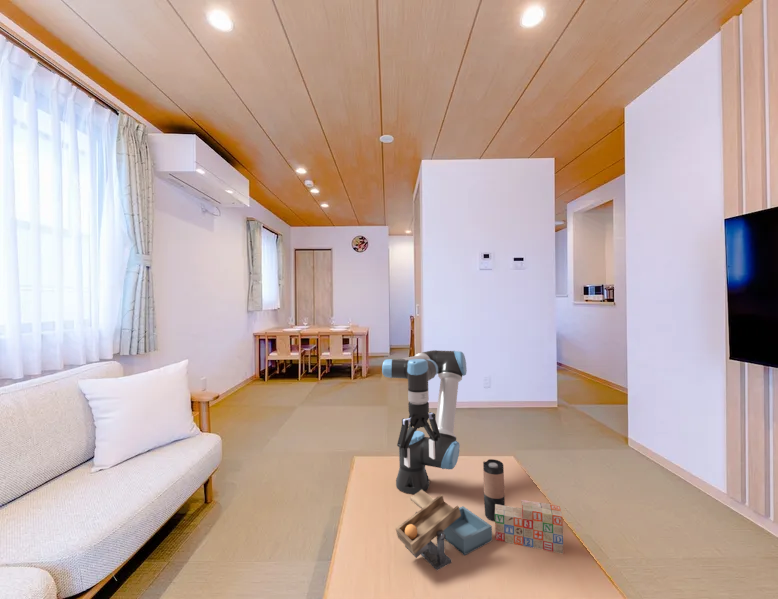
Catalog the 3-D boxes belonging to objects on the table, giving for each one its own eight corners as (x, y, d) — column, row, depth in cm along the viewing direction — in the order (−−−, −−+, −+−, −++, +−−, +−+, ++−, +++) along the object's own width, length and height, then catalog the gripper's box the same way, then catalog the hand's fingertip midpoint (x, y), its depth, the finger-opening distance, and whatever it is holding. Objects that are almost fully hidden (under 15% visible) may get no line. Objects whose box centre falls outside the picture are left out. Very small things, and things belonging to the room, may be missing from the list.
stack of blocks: (495, 540, 118) (494, 504, 118) (495, 529, 124) (494, 495, 124) (564, 554, 111) (562, 516, 111) (561, 541, 116) (560, 505, 117)
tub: (464, 555, 111) (463, 540, 111) (436, 531, 123) (436, 517, 123) (492, 540, 118) (491, 525, 118) (463, 519, 129) (463, 506, 130)
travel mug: (506, 523, 127) (504, 468, 127) (485, 521, 128) (483, 467, 129) (503, 511, 134) (502, 459, 135) (483, 509, 136) (482, 458, 136)
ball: (403, 537, 109) (401, 525, 109) (413, 531, 111) (411, 519, 111) (410, 544, 106) (408, 532, 106) (420, 538, 108) (419, 526, 108)
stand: (436, 570, 105) (435, 537, 105) (410, 544, 117) (409, 514, 117) (451, 562, 108) (450, 530, 108) (424, 537, 120) (423, 508, 120)
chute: (416, 563, 104) (411, 544, 103) (383, 528, 121) (379, 512, 120) (462, 523, 114) (458, 506, 113) (426, 496, 131) (423, 481, 130)
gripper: (397, 409, 117) (399, 474, 116) (449, 398, 129) (450, 457, 129) (386, 404, 123) (387, 466, 123) (436, 394, 135) (437, 450, 135)
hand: (419, 461), depth 126 cm, fingers open, 11 cm apart
